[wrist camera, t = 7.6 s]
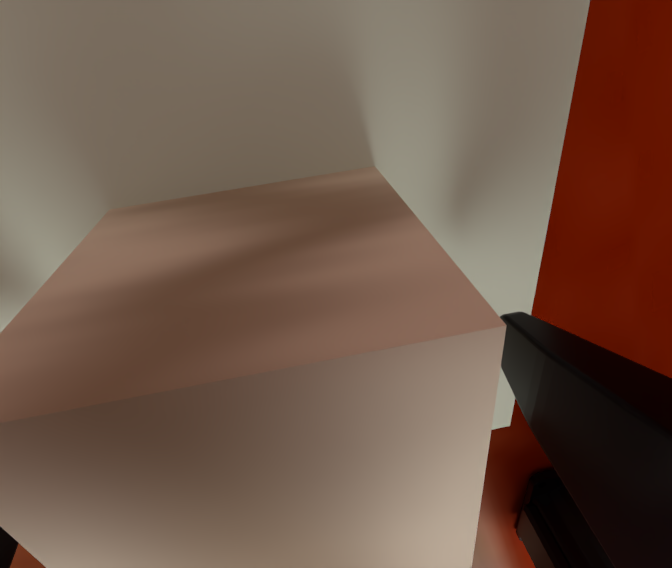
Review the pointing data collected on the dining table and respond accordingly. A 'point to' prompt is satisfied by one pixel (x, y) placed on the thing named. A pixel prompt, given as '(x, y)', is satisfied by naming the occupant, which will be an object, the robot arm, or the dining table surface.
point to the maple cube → (251, 387)
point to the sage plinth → (287, 118)
